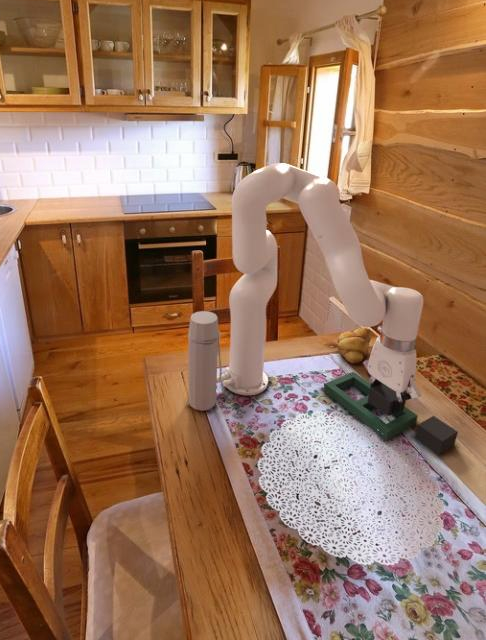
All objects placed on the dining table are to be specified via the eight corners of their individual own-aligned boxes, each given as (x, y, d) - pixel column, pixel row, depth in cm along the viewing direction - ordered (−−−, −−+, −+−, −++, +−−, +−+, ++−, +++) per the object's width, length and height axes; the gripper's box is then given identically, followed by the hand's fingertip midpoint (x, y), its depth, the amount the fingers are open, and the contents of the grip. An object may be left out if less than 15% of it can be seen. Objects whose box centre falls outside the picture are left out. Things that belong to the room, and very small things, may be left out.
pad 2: (438, 455, 91) (442, 441, 89) (414, 438, 96) (417, 424, 94) (454, 445, 94) (458, 431, 92) (430, 428, 98) (433, 415, 97)
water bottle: (197, 417, 100) (198, 328, 92) (182, 399, 106) (182, 314, 98) (228, 404, 105) (231, 318, 97) (212, 387, 111) (214, 305, 103)
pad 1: (387, 416, 97) (390, 402, 95) (367, 401, 101) (369, 388, 100) (403, 408, 100) (406, 394, 98) (383, 394, 104) (385, 381, 103)
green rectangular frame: (386, 440, 95) (388, 432, 94) (323, 391, 111) (324, 383, 110) (416, 423, 100) (418, 415, 99) (352, 378, 116) (353, 371, 116)
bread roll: (365, 369, 121) (369, 346, 118) (331, 361, 125) (335, 338, 122) (369, 348, 132) (373, 326, 129) (338, 341, 136) (341, 320, 133)
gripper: (357, 327, 100) (348, 388, 105) (421, 363, 86) (406, 431, 92) (377, 320, 103) (367, 380, 109) (442, 353, 89) (427, 419, 95)
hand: (385, 402), depth 100 cm, fingers closed on pad 1, 6 cm apart
